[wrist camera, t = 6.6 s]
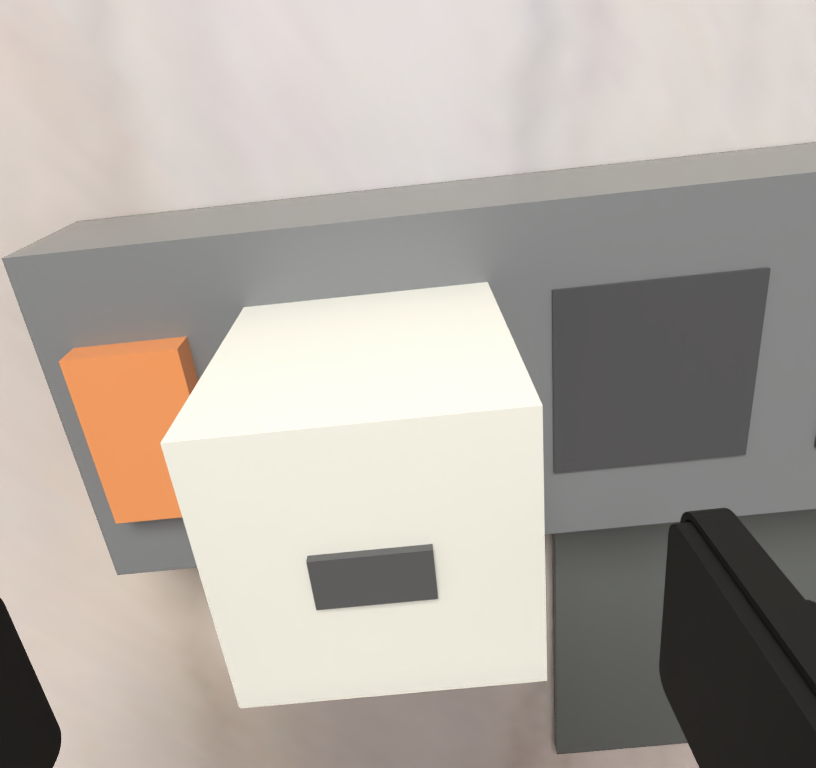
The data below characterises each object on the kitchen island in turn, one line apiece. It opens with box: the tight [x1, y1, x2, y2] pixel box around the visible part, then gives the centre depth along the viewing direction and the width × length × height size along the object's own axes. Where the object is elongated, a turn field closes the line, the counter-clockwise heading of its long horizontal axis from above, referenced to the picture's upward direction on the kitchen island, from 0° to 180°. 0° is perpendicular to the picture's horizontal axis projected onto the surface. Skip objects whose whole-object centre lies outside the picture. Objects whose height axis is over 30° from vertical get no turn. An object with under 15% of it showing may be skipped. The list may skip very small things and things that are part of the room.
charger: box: [160, 282, 547, 709], centre depth 12 cm, size 5×5×6 cm
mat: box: [553, 509, 816, 754], centre depth 22 cm, size 11×11×1 cm
